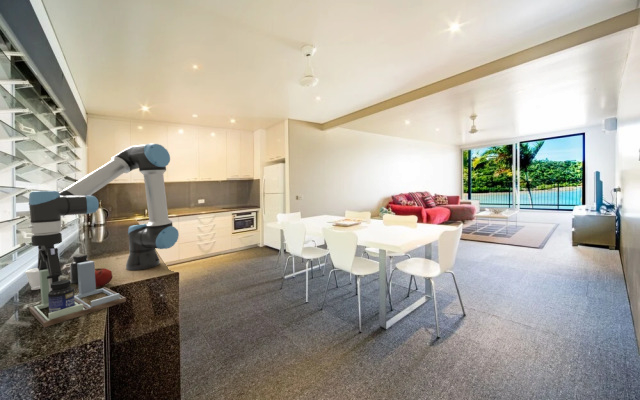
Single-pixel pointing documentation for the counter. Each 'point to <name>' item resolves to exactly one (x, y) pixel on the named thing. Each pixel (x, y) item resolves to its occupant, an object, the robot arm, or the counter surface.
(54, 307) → the pill bottle
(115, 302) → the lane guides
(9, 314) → the counter surface
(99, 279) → the tomato
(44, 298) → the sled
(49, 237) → the robot arm
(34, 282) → the cup
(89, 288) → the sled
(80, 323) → the counter surface
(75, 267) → the supplement bottle
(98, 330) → the counter surface
